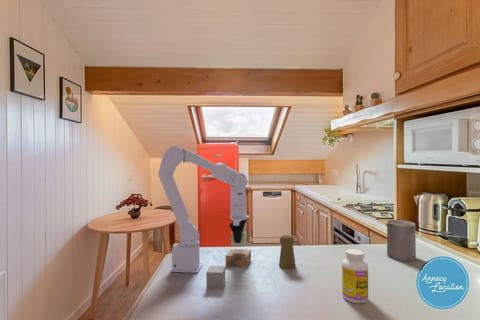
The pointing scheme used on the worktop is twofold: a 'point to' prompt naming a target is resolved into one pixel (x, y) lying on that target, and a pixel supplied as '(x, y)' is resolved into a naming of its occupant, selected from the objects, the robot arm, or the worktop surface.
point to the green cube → (243, 239)
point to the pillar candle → (401, 240)
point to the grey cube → (215, 277)
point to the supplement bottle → (355, 277)
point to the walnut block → (238, 258)
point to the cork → (287, 252)
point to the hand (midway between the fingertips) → (238, 240)
